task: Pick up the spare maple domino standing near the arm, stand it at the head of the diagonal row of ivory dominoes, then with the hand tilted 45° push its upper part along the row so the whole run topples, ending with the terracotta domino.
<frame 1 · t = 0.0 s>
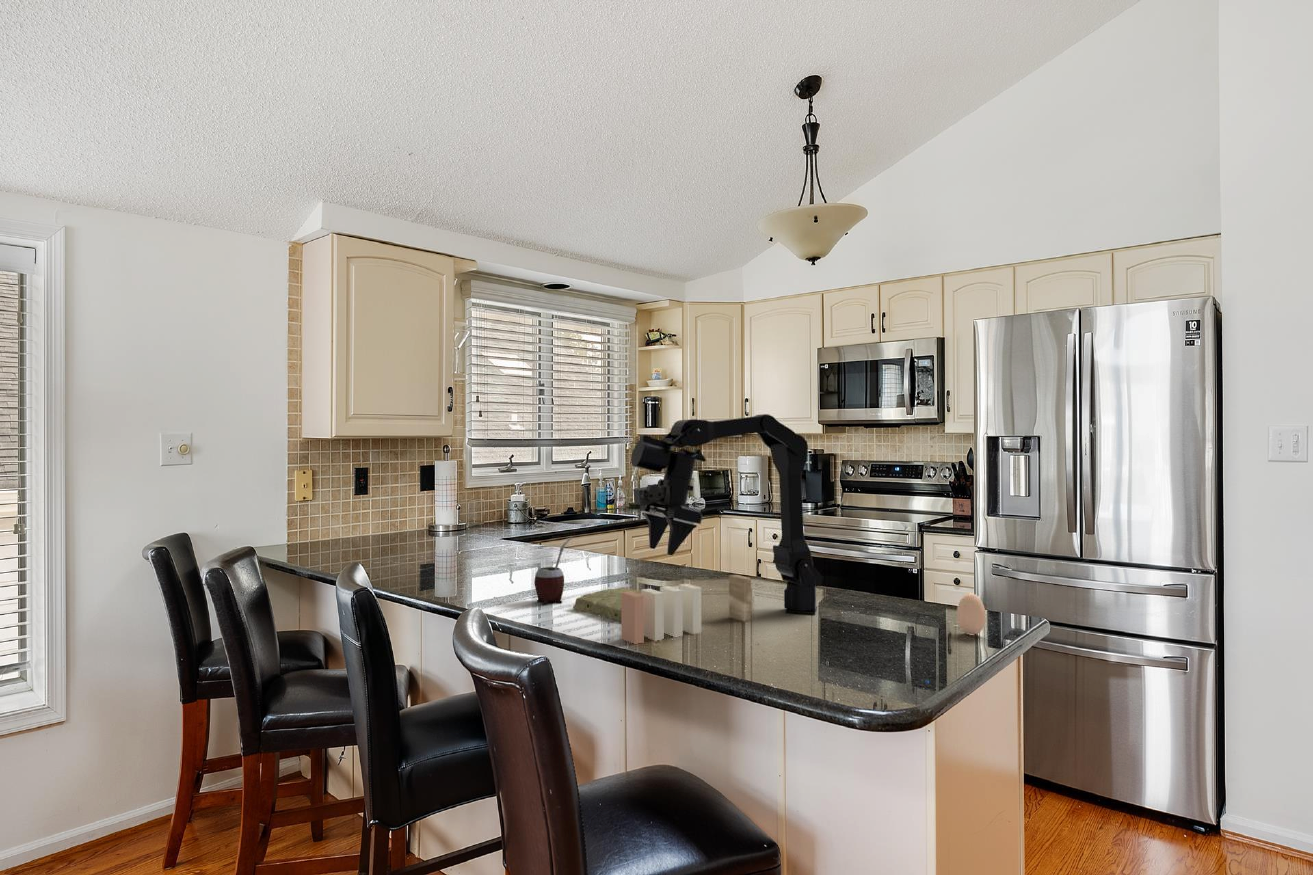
hand: (660, 551, 149), 15 cm above the table, tool pointing down, fingers open, 9 cm apart
domino 3: (671, 634, 143), on the table
domino 2: (689, 630, 146), on the table
domino 5: (632, 640, 138), on the table
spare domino: (740, 618, 155), on the table
egg: (971, 636, 142), on the table
domino 4: (652, 637, 141), on the table
mate gourd: (551, 603, 172), on the table
olive green slab: (627, 612, 164), on the table
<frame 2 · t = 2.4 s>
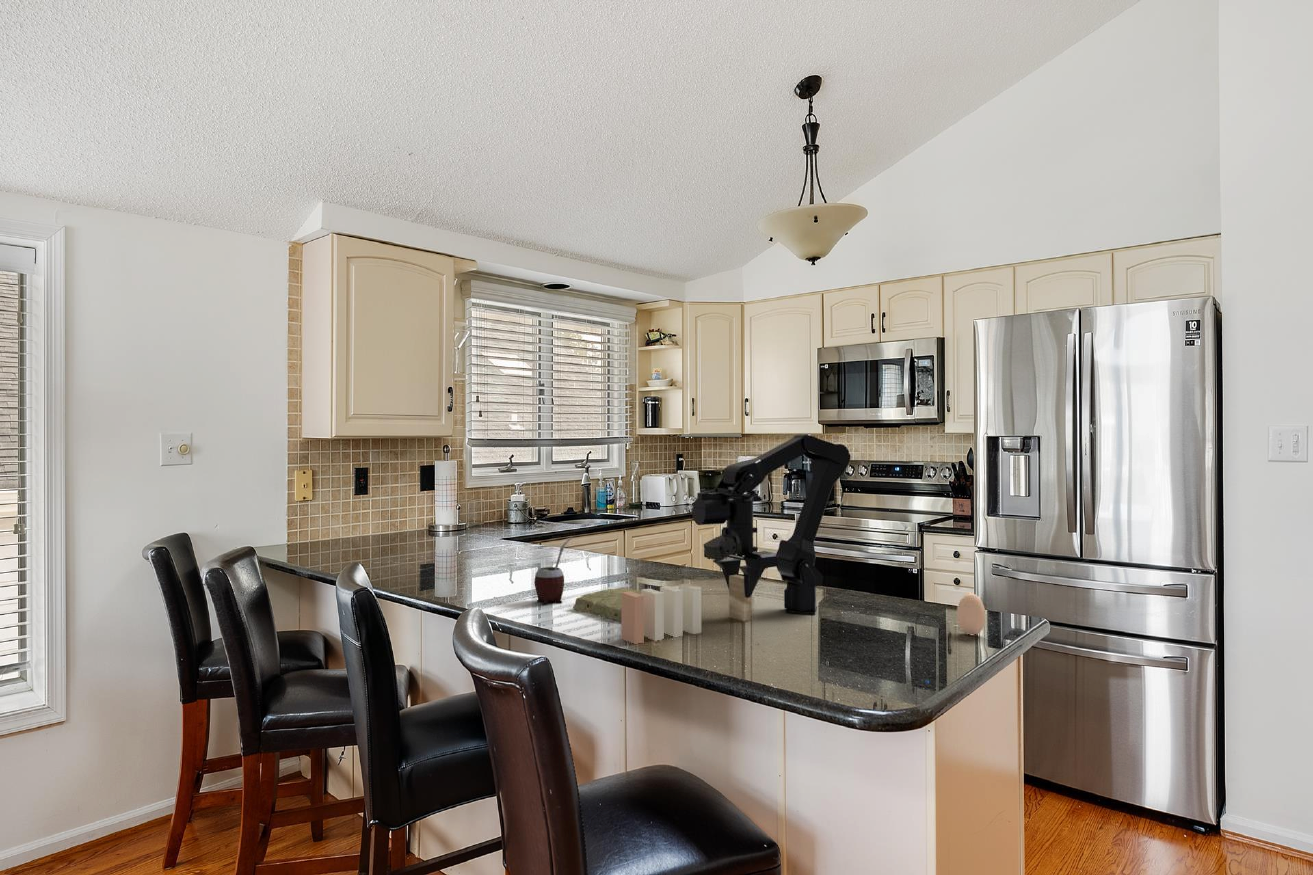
hand: (739, 595, 156), 5 cm above the table, tool pointing down, fingers closed on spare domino, 5 cm apart
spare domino: (739, 618, 155), on the table, touching gripper
everything else where it was.
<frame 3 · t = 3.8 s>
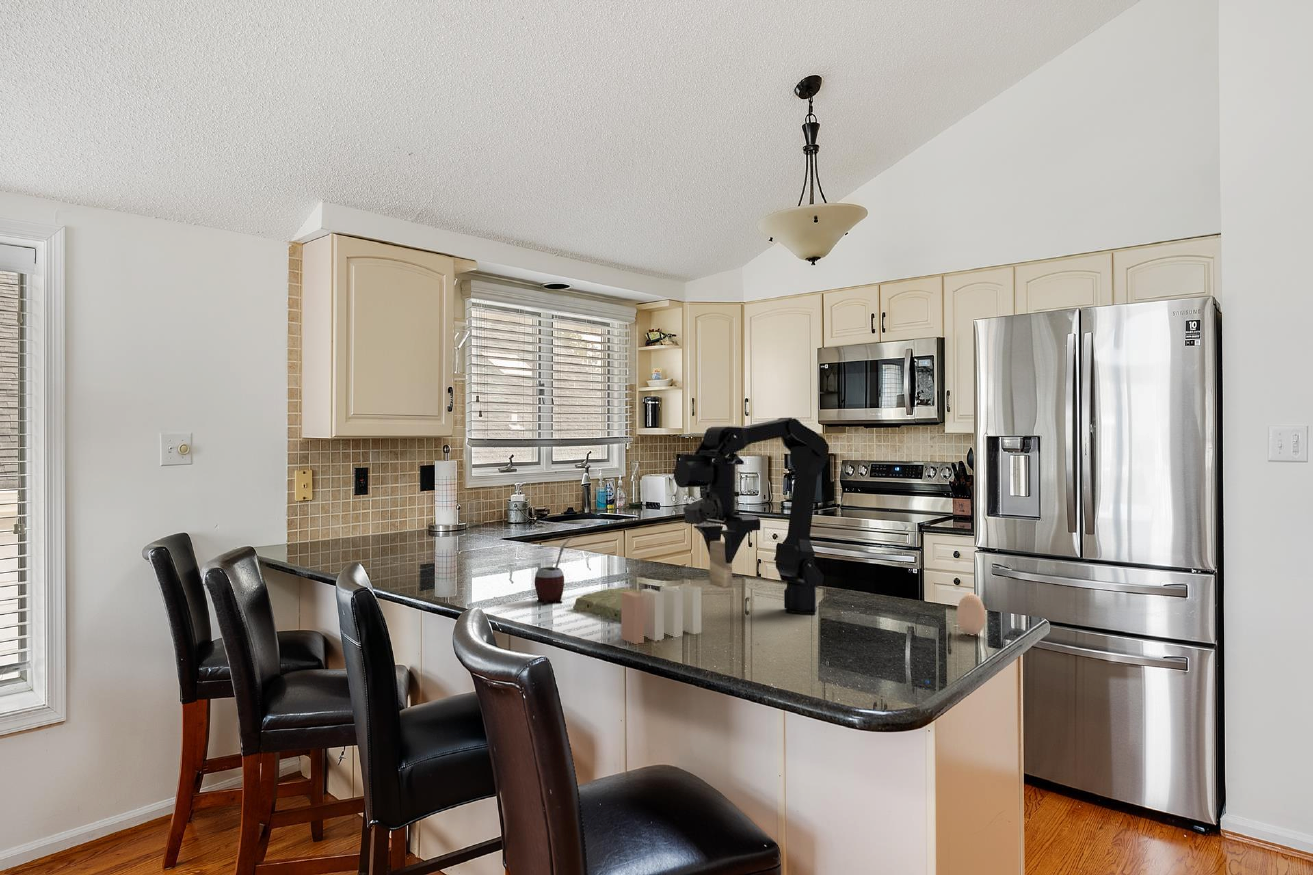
hand: (720, 561, 150), 13 cm above the table, tool pointing down, fingers closed on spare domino, 5 cm apart
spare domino: (720, 585, 150), point 8 cm above the table, touching gripper
everything else where it was.
when the fingers open (5 cm above the table, at t = 5.6 s): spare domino stays where it is, on the table.
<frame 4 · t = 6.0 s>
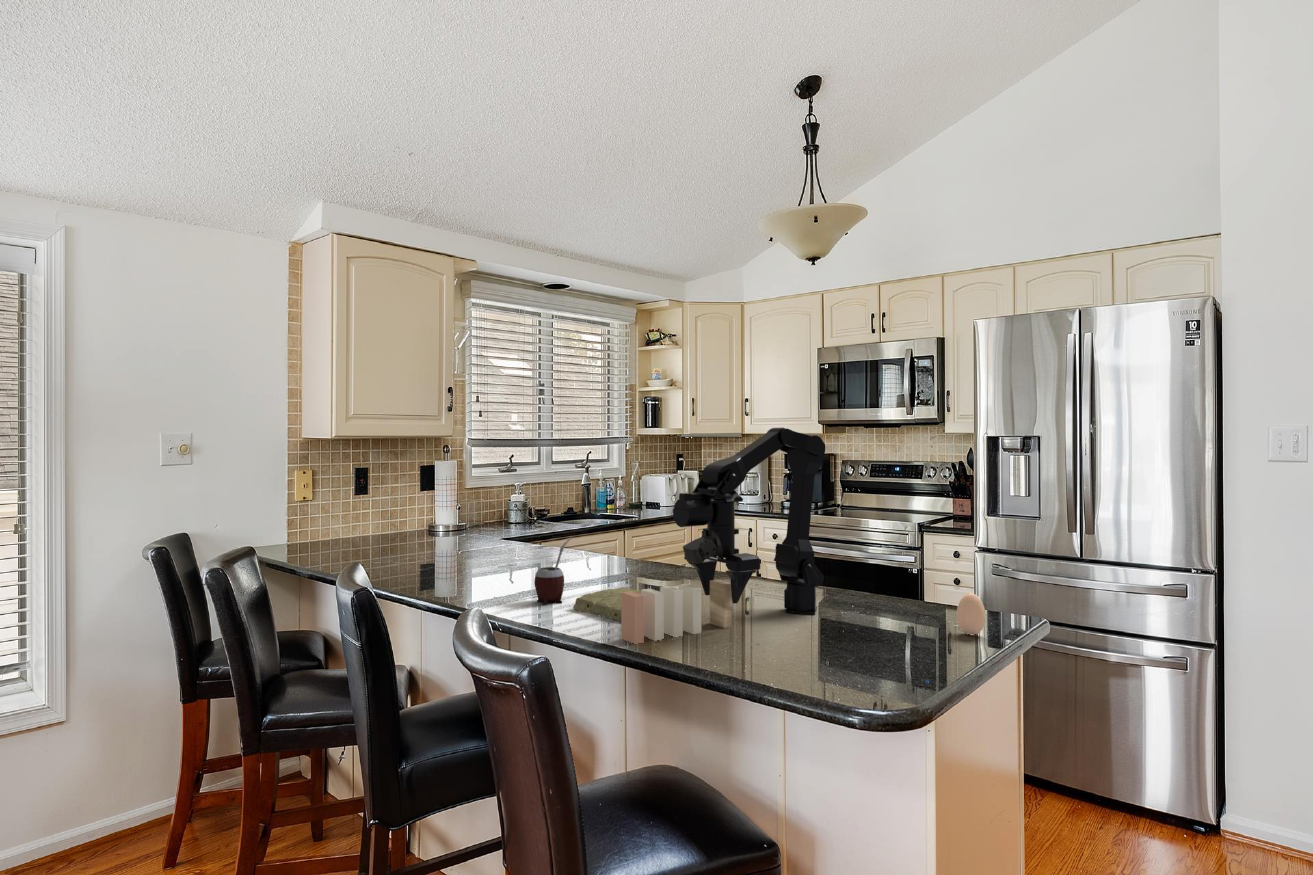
hand: (721, 599, 150), 5 cm above the table, tool pointing down, fingers open, 9 cm apart
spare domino: (720, 625, 150), on the table
everything else where it was.
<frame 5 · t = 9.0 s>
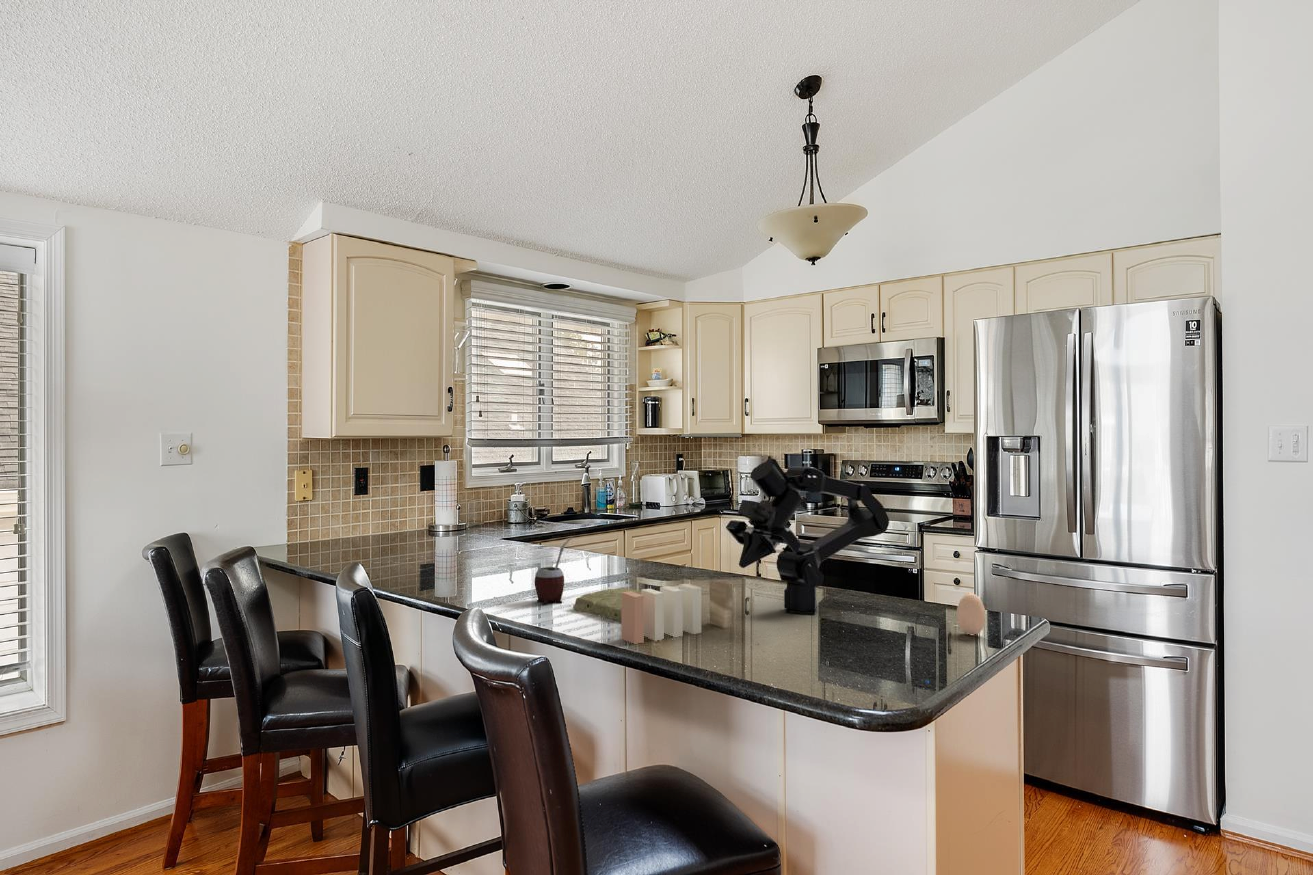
hand: (741, 566, 153), 12 cm above the table, tool tilted 45°, fingers closed
nothing on the table moved.
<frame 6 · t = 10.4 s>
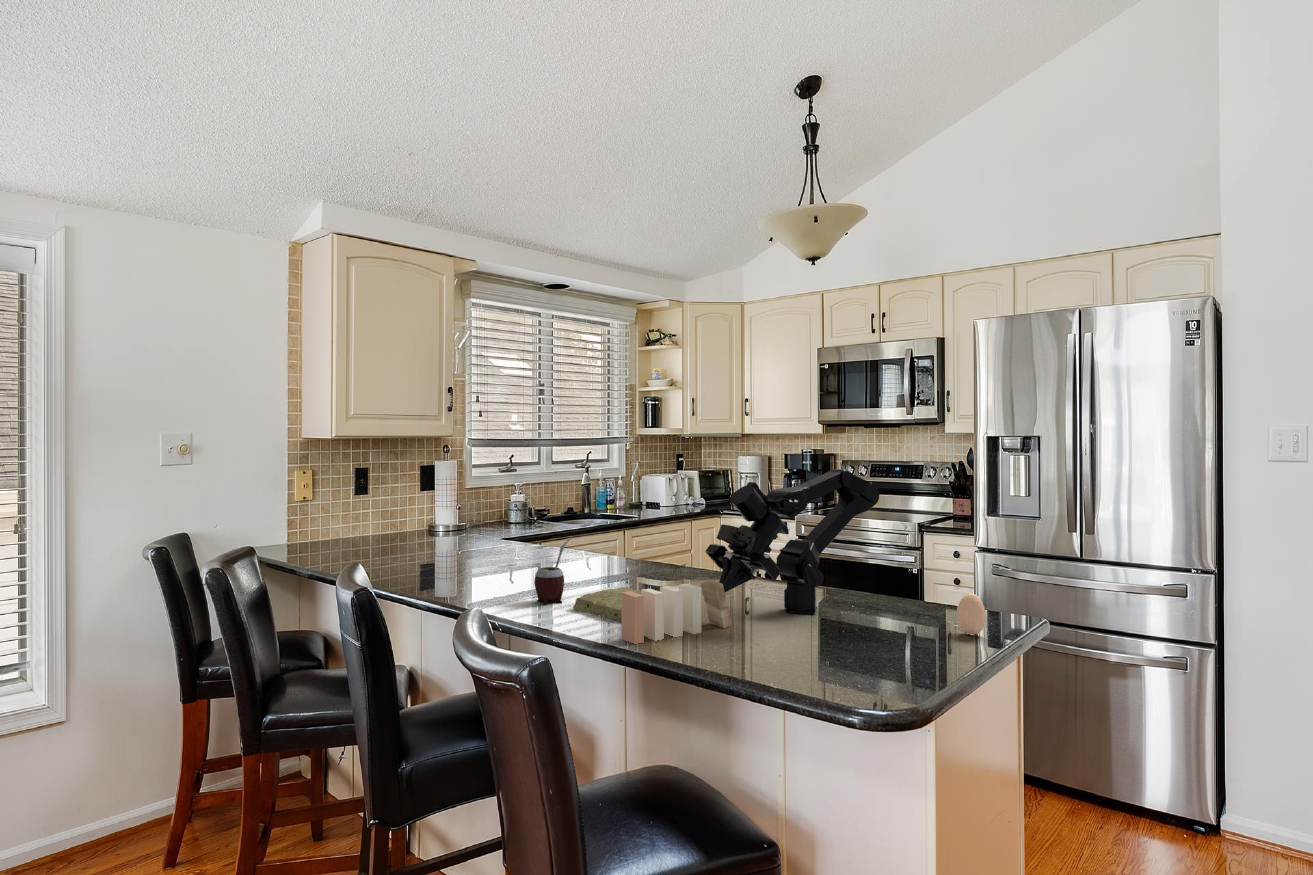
hand: (719, 592, 150), 7 cm above the table, tool tilted 45°, fingers closed
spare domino: (720, 623, 150), on the table, tilted 16°
everything else where it was.
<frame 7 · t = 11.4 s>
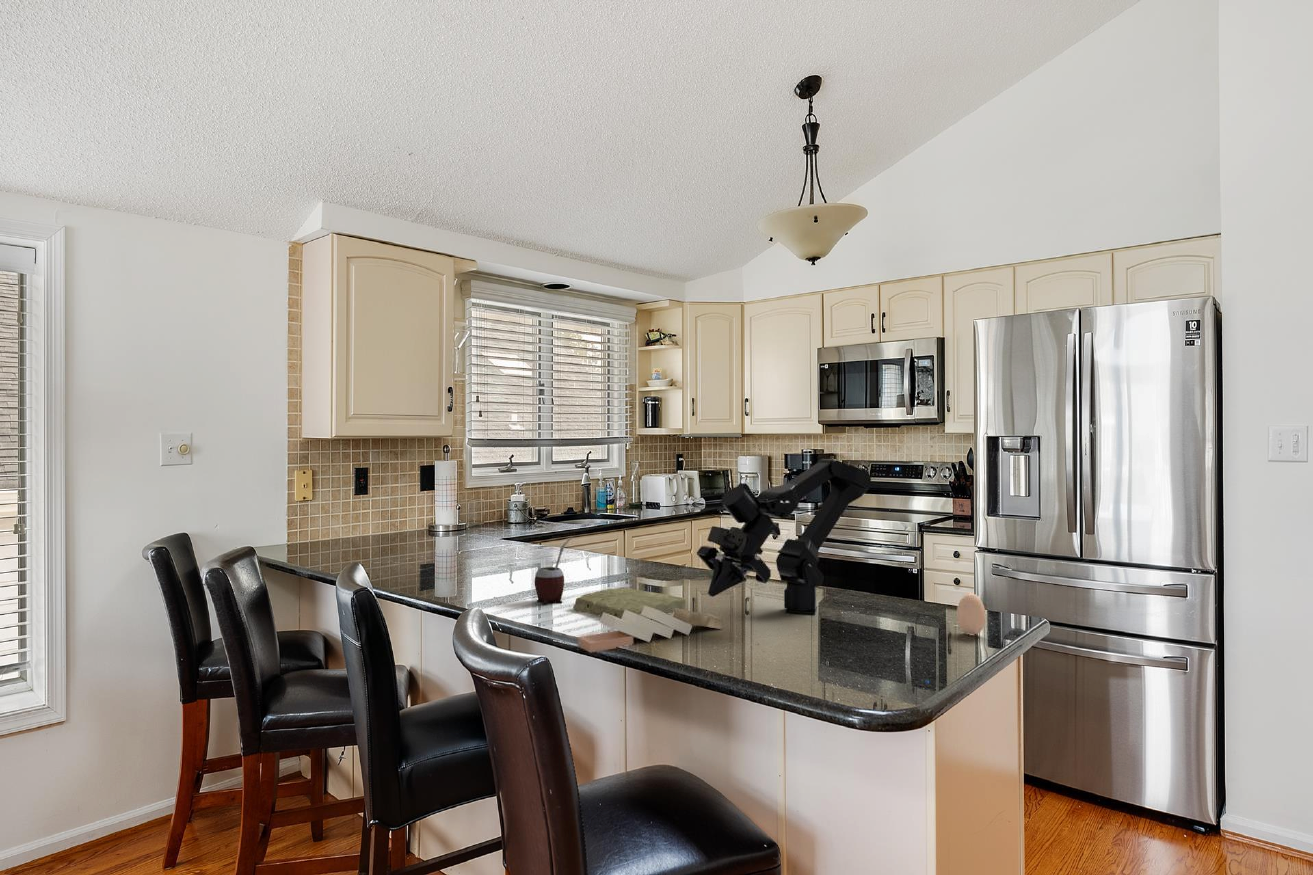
hand: (710, 595, 148), 7 cm above the table, tool tilted 45°, fingers closed
domino 3: (665, 630, 142), point 1 cm above the table, tilted 65°, touching domino 2, domino 4
domino 2: (683, 627, 144), point 1 cm above the table, tilted 63°, touching domino 3, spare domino
domino 5: (626, 638, 138), point 1 cm above the table, tilted 90°, touching domino 4
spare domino: (715, 621, 149), point 1 cm above the table, tilted 75°, touching domino 2
domino 4: (644, 634, 140), point 1 cm above the table, tilted 65°, touching domino 3, domino 5
everything else where it was.
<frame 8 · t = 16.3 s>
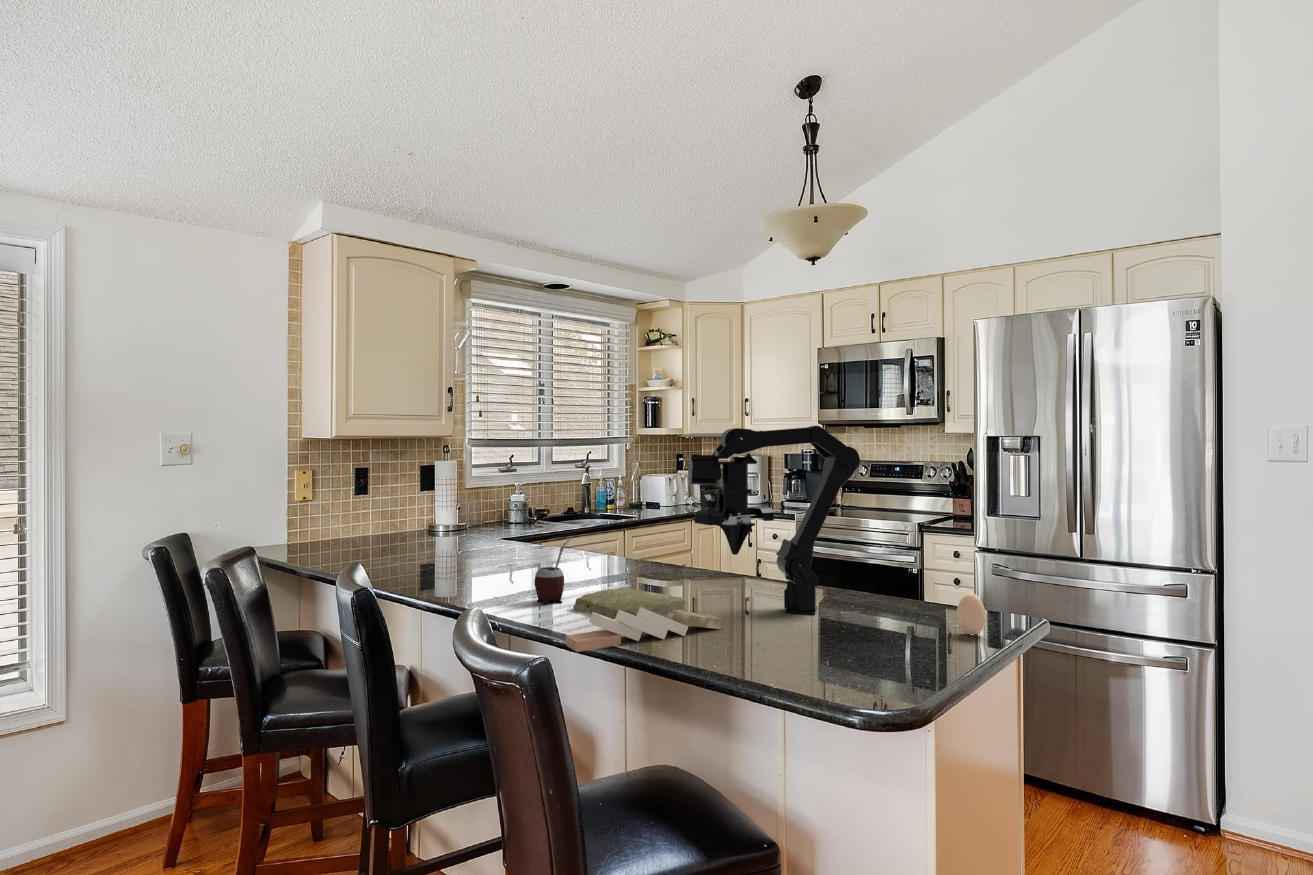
hand: (735, 554, 161), 13 cm above the table, tool pointing down, fingers closed
domino 3: (659, 631, 141), point 1 cm above the table, tilted 65°, touching domino 2, domino 4
domino 5: (614, 637, 138), point 1 cm above the table, tilted 90°, touching domino 4
domino 4: (635, 633, 140), point 1 cm above the table, tilted 66°, touching domino 3, domino 5
at the end: domino 5 tilted 90°; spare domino tilted 77°; the gripper is holding nothing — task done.
